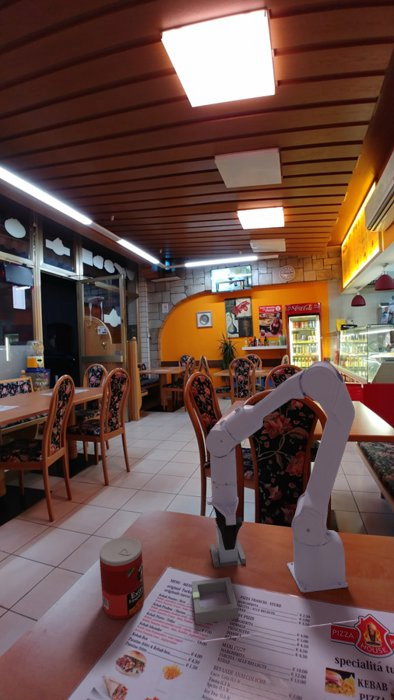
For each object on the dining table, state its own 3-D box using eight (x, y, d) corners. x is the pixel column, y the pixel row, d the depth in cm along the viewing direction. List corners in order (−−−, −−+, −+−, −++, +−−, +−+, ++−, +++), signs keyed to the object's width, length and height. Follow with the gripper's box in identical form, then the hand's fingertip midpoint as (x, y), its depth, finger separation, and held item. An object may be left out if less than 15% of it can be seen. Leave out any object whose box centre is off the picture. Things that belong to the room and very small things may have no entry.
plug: (234, 549, 79) (233, 521, 79) (238, 560, 75) (236, 531, 75) (217, 551, 79) (216, 523, 78) (220, 562, 75) (218, 533, 74)
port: (230, 587, 68) (229, 575, 68) (238, 619, 60) (237, 606, 60) (191, 592, 67) (191, 580, 67) (195, 625, 59) (194, 611, 59)
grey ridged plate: (239, 546, 81) (239, 540, 80) (245, 564, 74) (245, 558, 74) (210, 549, 80) (210, 543, 80) (214, 568, 74) (214, 562, 73)
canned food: (136, 623, 60) (132, 564, 60) (95, 618, 62) (91, 560, 61) (150, 591, 68) (147, 537, 67) (113, 586, 70) (110, 535, 69)
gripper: (202, 468, 83) (204, 521, 84) (210, 496, 68) (213, 561, 69) (230, 465, 84) (233, 519, 84) (244, 493, 69) (247, 557, 70)
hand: (226, 538), depth 77 cm, fingers open, 7 cm apart
